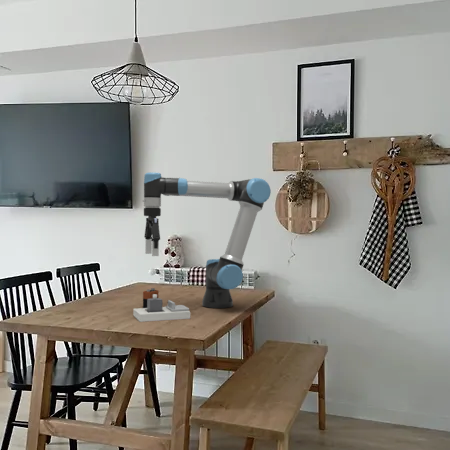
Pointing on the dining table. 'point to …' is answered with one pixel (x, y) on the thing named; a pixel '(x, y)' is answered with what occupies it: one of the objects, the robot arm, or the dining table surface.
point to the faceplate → (160, 314)
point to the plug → (154, 304)
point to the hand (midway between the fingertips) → (151, 254)
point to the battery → (148, 296)
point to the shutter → (175, 306)
